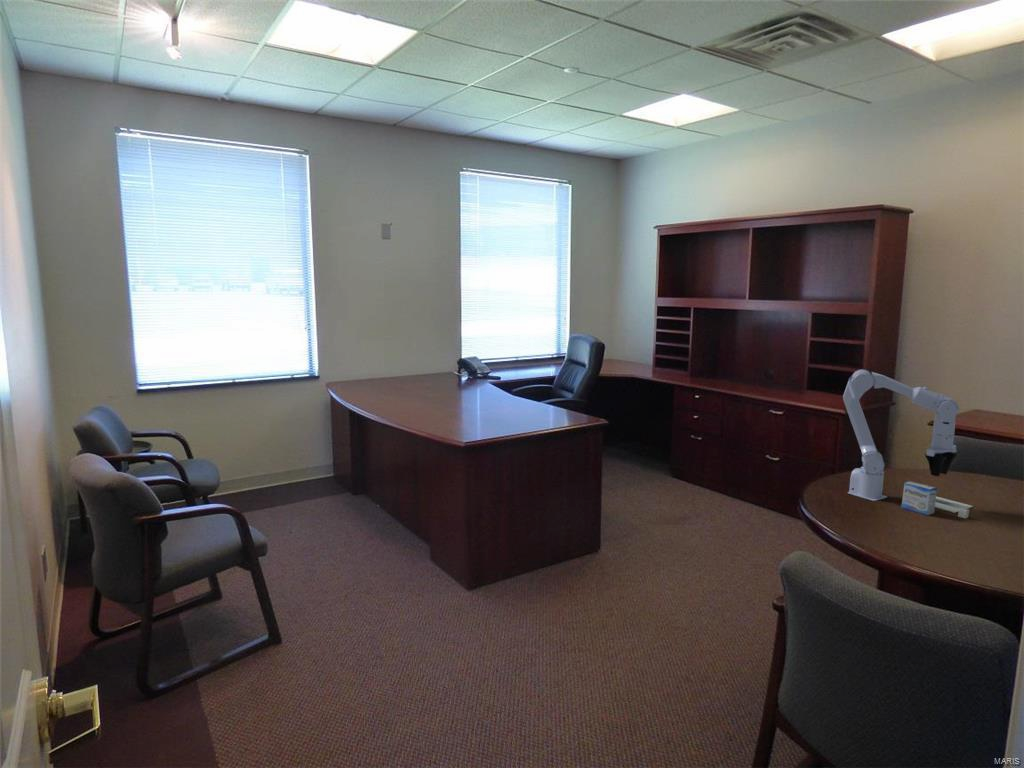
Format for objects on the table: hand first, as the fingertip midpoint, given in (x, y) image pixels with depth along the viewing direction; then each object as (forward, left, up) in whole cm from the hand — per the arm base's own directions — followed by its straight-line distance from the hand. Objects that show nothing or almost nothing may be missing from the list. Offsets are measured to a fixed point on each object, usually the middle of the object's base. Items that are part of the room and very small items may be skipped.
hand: (938, 474), depth 198 cm
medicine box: (0, -11, -11) cm, 15 cm away
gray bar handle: (+2, -5, -10) cm, 12 cm away
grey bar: (+2, -5, -8) cm, 9 cm away
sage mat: (0, +3, -10) cm, 11 cm away
